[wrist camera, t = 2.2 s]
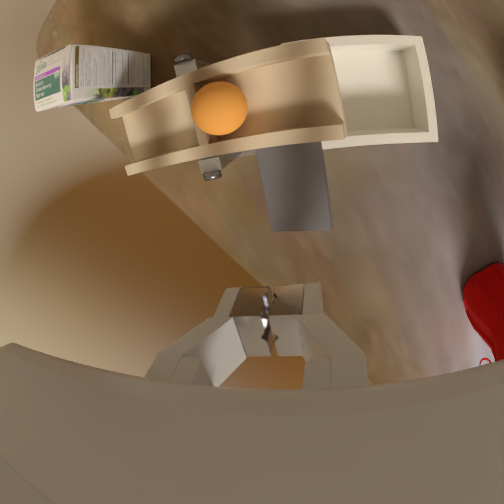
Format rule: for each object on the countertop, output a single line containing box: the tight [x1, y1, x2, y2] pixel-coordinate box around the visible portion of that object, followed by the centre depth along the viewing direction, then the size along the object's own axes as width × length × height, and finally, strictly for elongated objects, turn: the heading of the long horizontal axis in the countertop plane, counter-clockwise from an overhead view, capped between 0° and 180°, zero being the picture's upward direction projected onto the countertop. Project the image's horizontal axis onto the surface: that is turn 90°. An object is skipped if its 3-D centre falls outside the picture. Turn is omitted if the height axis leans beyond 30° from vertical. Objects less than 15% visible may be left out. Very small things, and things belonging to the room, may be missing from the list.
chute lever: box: [109, 37, 347, 231], centre depth 24 cm, size 20×14×8 cm
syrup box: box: [34, 44, 151, 111], centre depth 23 cm, size 6×6×14 cm
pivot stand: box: [174, 53, 256, 181], centre depth 26 cm, size 12×5×10 cm, turn 13°
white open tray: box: [281, 35, 438, 149], centre depth 24 cm, size 11×14×5 cm
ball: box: [191, 82, 248, 135], centre depth 18 cm, size 4×4×4 cm
